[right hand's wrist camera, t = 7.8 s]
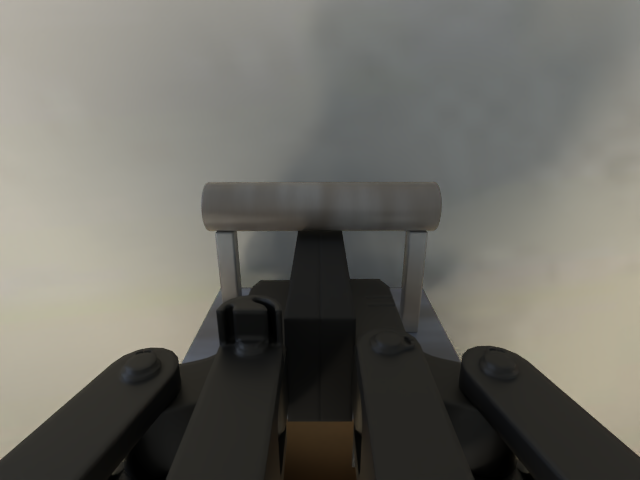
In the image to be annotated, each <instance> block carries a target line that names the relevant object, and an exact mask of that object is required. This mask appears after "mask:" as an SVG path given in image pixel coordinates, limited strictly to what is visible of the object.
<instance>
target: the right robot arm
mask: <svg viewBox="0 0 640 480" xmlns="http://www.w3.org/2000/svg"><path fill="white" fill-rule="evenodd" d="M216 315H217V324H218V334H219V343H220V346H219V348H218V351H217V353H216V354H215V355H212V356H210V357H208V358H204V359H201V360H197V361H192V362H187V363H182V364H179V362H178V357H177V356H176V355H175V354H174V352H173V351H170V350H167V349H164V348H146V349H141V350H137V351H134V352H132V353H129V354H127V355H124V356H123V357H121V358H120V359H118V360H117V361H115V362H114V363H112V364H111V365H110V366H109V367H108V368H106V369H105V370H104V371H103V372H102V373H101V374H99V375H98V376H97V377H96V378H95V379H94V380H93V381H91V382H90V383H89V384H88V385H87V386H86V387H84V388H83V389H82V390H81V391H80V392H79V393H77V394H76V395H75V396H74V397H73V398H72V399H71V400H69V401H68V402H67V403H66V404H65V405H64V406H62V407H61V408H60V409H59V410H58V411H57V412H55V413H54V414H53V415H52V416H51V417H50V418H49V419H47V420H46V421H45V422H44V423H43V424H42V425H40V426H39V427H38V428H37V429H36V430H35V431H34V432H32V433H31V434H30V435H29V436H28V437H27V438H25V439H24V440H23V441H22V442H21V443H20V444H18V445H17V446H16V447H15V448H14V449H13V450H12V451H10V452H9V453H8V454H7V455H6V456H5V457H3V458H2V459H1V460H0V480H283V479H284V469H285V458H286V447H287V428H286V422H287V415H288V422H352V416H353V420H354V428H353V453H352V467H355V468H356V479H357V480H640V457H639V456H638V455H637V454H636V453H634V452H633V451H632V450H631V449H630V448H629V447H627V446H626V445H625V444H624V443H623V442H622V441H620V440H619V439H618V438H617V437H616V436H615V435H613V434H612V433H611V432H610V431H609V430H608V429H606V428H605V427H604V426H603V425H602V424H600V423H599V422H598V421H597V420H596V419H595V418H593V417H592V416H591V415H590V414H589V413H588V412H586V411H585V410H584V409H583V408H582V407H581V406H579V405H578V404H577V403H576V402H575V401H574V400H572V399H571V398H570V397H569V396H568V395H567V394H565V393H564V392H563V391H562V390H561V389H560V388H558V387H557V386H556V385H555V384H554V383H553V382H551V381H550V380H549V379H548V378H547V377H546V376H544V375H543V374H542V373H541V372H540V371H539V370H537V369H536V368H535V367H534V366H533V365H532V364H530V363H529V362H528V361H527V360H525V359H524V358H522V357H521V356H519V355H518V354H516V353H513V352H511V351H508V350H506V349H503V348H499V347H493V346H477V347H474V348H471V349H468V350H467V351H466V352H465V353H464V354H463V356H462V362H456V361H452V360H447V359H442V358H438V357H435V356H432V355H429V354H427V353H425V352H423V350H422V348H421V345H420V344H419V342H418V341H417V340H416V338H415V337H413V336H412V335H410V334H409V333H407V332H405V329H404V326H403V323H402V321H401V318H400V315H399V312H398V310H397V307H396V304H395V302H394V299H393V296H392V293H391V291H390V288H389V287H388V286H387V285H386V284H385V283H383V282H382V281H381V280H380V279H350V278H349V272H348V266H347V260H346V254H345V248H344V242H343V235H342V231H298V236H297V242H296V248H295V254H294V260H293V266H292V272H291V279H290V280H261V281H259V282H258V283H257V284H256V285H255V286H253V287H252V288H251V290H250V292H249V295H245V296H240V297H236V298H233V299H230V300H228V301H226V302H224V303H223V304H221V305H220V306H219V308H218V309H217V310H216Z"/></svg>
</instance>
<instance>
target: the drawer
mask: <svg viewBox="0 0 640 480" xmlns="http://www.w3.org/2000/svg"><path fill="white" fill-rule="evenodd" d="M201 209H202V218H203V222H204V225H205V227H206V229H207V230H209V231H217V232H216V234H215V236H216V245H217V255H218V264H219V274H220V284H221V289H220V291H219V293H218V295H217V297H216V298H215V300H214V302H213V304H212V306H211V308H210V310H209V312H208V314H207V316H206V318H205V320H204V321H203V323H202V325H201V327H200V329H199V331H198V333H197V335H196V337H195V339H194V341H193V342H192V344H191V346H190V348H189V350H188V352H187V354H186V356H185V358H184V360H183V362H182V363H187V362H192V361H197V360H201V359H204V358H208V357H210V356H212V355H215V354H216V353H217V351H218V348H219V346H220V343H219V334H218V324H217V315H216V310H217V309H218V308H219V306H220V305H221V304H223V303H224V302H226V301H228V300H230V299H233V298H236V297H240V296H245V295H249V292H250V290H251V288H241V276H240V264H239V252H238V240H237V231H406V238H405V251H404V263H403V276H402V288H390V291H391V293H392V296H393V299H394V302H395V304H396V307H397V310H398V312H399V315H400V318H401V321H402V323H403V326H404V329H405V332H407V333H409V334H410V335H412V336H413V337H415V338H416V340H417V341H418V342H419V344H420V345H421V348H422V350H423V352H425V353H427V354H429V355H432V356H435V357H438V358H442V359H447V360H452V361H456V362H461V361H460V359H459V357H458V355H457V353H456V351H455V349H454V348H453V346H452V344H451V342H450V340H449V338H448V336H447V334H446V332H445V330H444V328H443V327H442V325H441V323H440V321H439V319H438V317H437V315H436V313H435V311H434V309H433V307H432V305H431V304H430V302H429V300H428V298H427V296H426V294H425V292H424V290H423V288H422V284H423V274H424V264H425V254H426V244H427V232H426V231H433V230H435V229H436V228H437V227H438V224H439V221H440V217H441V193H440V189H439V186H438V184H437V183H435V182H213V183H206V184H205V186H204V189H203V192H202V200H201ZM286 428H287V447H286V458H285V469H284V479H283V480H357V479H356V468H355V467H352V453H353V428H354V420H353V416H352V422H288V415H287V422H286Z"/></svg>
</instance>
